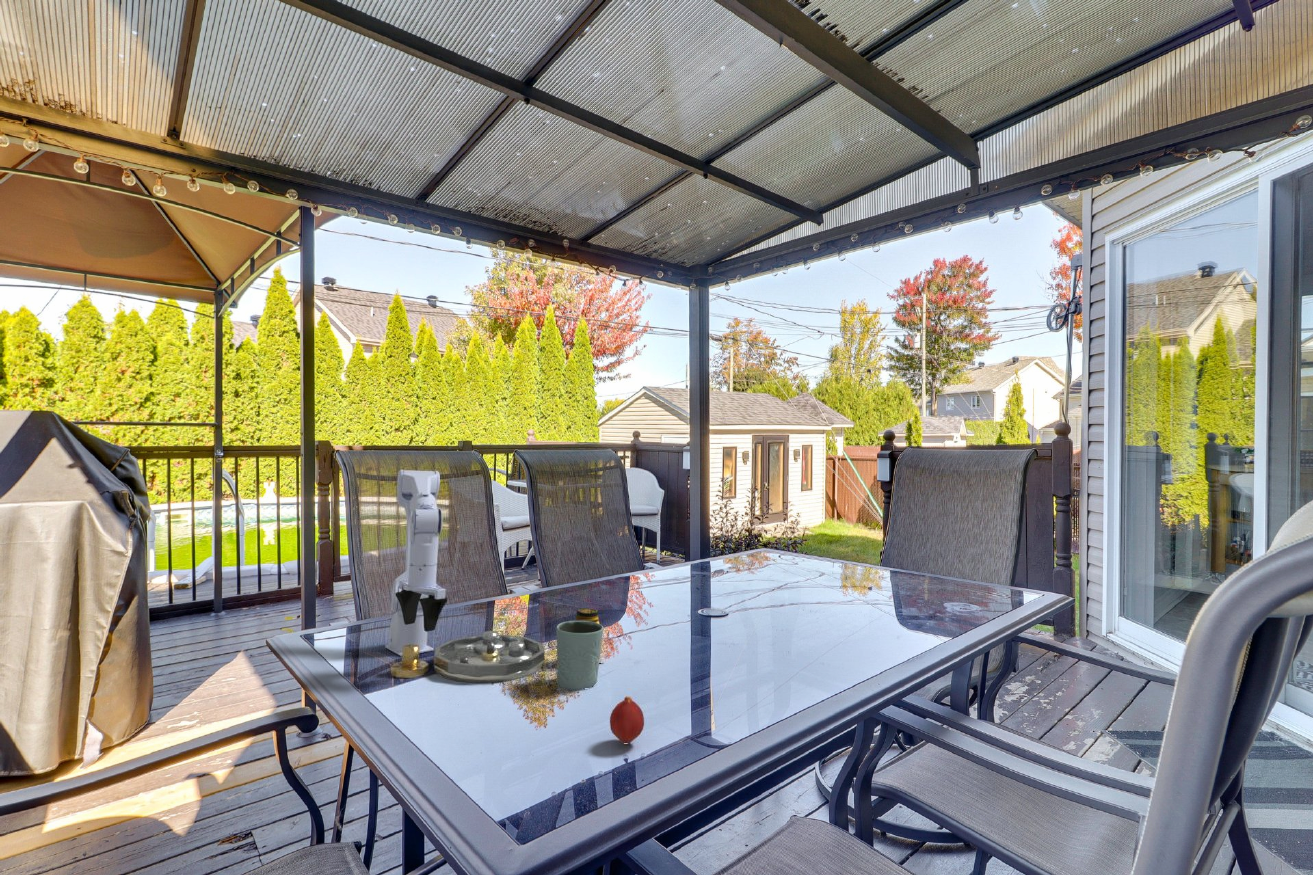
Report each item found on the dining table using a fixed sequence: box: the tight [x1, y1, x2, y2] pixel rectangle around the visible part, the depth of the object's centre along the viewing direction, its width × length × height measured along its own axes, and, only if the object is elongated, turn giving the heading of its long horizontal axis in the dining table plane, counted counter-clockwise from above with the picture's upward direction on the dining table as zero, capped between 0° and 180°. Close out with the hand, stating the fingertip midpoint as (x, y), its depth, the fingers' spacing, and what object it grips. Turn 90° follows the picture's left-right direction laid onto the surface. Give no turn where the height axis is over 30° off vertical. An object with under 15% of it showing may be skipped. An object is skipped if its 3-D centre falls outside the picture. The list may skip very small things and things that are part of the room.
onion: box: [609, 695, 645, 744], centre depth 105 cm, size 6×6×8 cm
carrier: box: [433, 630, 546, 684], centre depth 143 cm, size 24×24×6 cm
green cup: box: [555, 620, 604, 691], centre depth 133 cm, size 10×10×12 cm
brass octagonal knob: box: [390, 644, 429, 679], centre depth 135 cm, size 7×7×6 cm
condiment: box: [575, 607, 600, 624], centre depth 148 cm, size 7×8×12 cm
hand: (419, 627), depth 135 cm, fingers open, 7 cm apart
